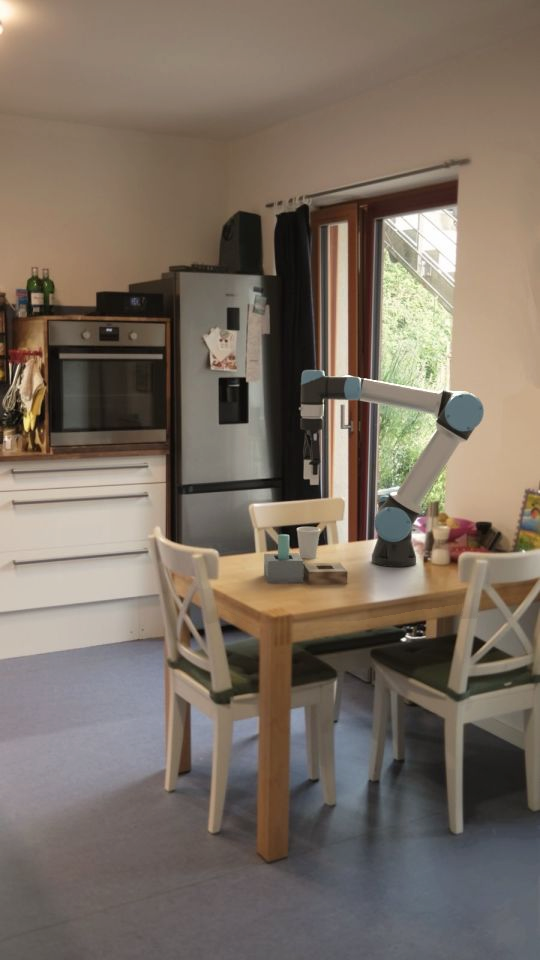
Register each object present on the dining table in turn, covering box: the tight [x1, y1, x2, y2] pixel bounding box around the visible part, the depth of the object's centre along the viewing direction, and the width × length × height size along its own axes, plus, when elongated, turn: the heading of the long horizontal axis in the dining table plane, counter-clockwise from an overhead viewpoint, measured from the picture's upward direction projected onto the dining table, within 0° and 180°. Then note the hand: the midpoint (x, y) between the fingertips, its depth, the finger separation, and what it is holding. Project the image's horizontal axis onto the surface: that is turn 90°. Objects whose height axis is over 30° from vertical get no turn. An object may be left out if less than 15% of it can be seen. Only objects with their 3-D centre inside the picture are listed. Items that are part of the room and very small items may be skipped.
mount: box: [303, 562, 348, 586], centre depth 308 cm, size 12×12×4 cm
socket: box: [263, 552, 304, 584], centre depth 309 cm, size 11×11×7 cm
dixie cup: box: [296, 526, 321, 560], centre depth 341 cm, size 8×8×10 cm
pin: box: [277, 533, 290, 559], centre depth 308 cm, size 4×4×14 cm
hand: (310, 481), depth 322 cm, fingers open, 13 cm apart
